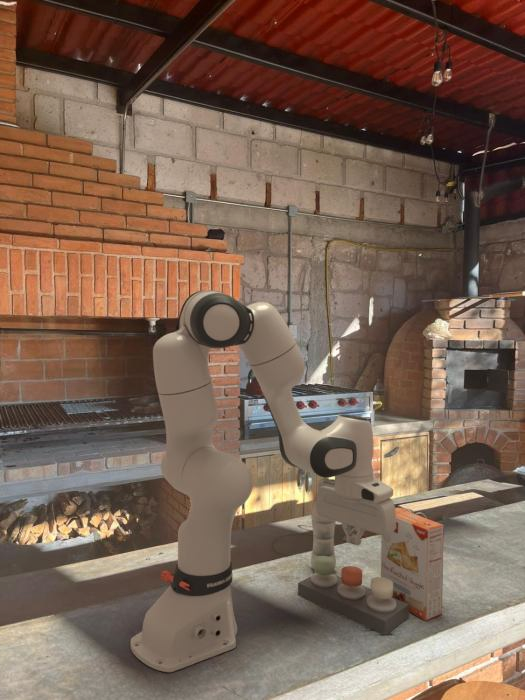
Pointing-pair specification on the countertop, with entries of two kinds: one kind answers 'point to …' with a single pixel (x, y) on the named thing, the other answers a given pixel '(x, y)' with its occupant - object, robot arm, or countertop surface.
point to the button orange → (351, 576)
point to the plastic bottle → (322, 537)
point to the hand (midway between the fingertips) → (353, 543)
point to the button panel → (354, 602)
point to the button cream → (381, 588)
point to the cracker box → (415, 563)
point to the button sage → (324, 565)
